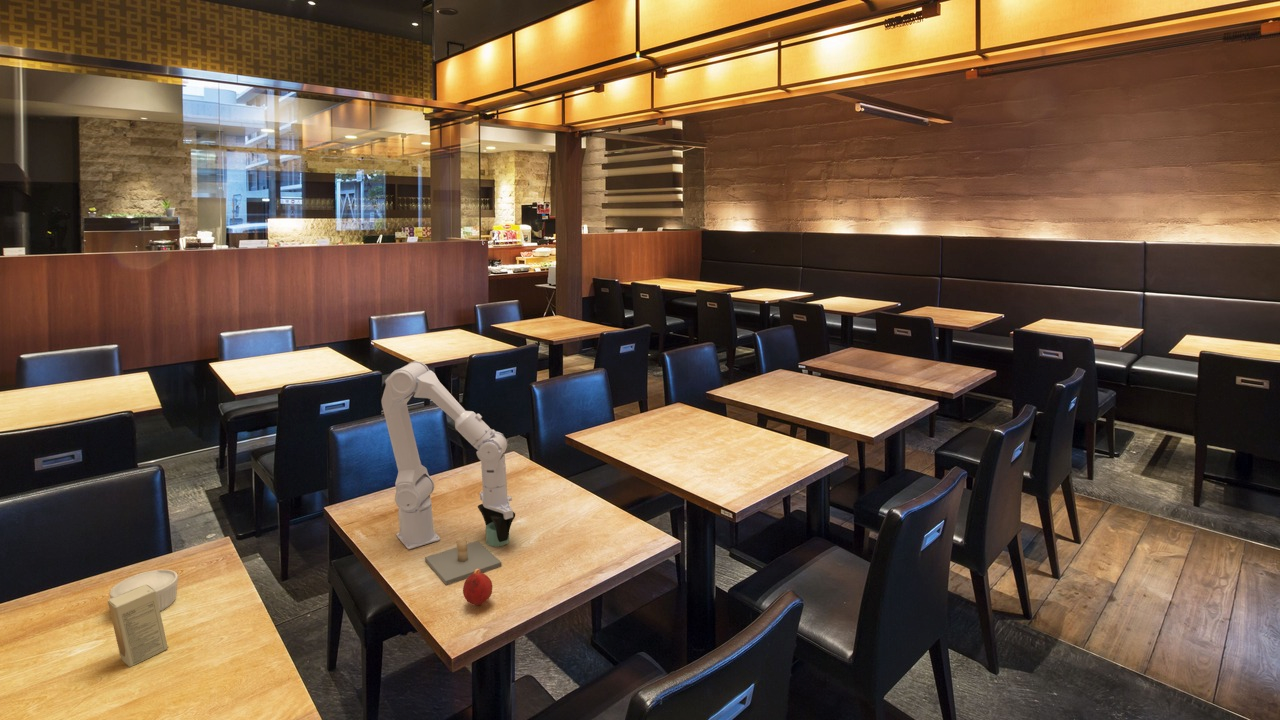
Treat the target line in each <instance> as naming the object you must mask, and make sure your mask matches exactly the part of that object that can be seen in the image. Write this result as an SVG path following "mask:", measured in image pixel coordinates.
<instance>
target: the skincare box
mask: <svg viewBox="0 0 1280 720" xmlns="http://www.w3.org/2000/svg"><path fill="white" fill-rule="evenodd" d="M107 605H108V608H109V613H110V617H111V621H112V626H113V630H114V635H115V639H116V643H117V648H118V652H119V656H120V659H121V661H122V662H123V663H124V664H125V665H126V666H127V667H128V668H131V667H133V666H135V665H137V664H140V663H141V662H143V661H146V660H148V659H150V658H152V657H154V656H156V655H158V654H160V653H162V652H164V651H166V650H168V649H169V646H168V643H167V638H166V633H165V628H164V624H163V619H162V615H161V611H160V609H159V605H158V600H157V595H156V591H155V590H154V589H153V588H151V587H150V586H148V585H147V584H145V585H143V586H140V587H138V588H135V589H133V590H130V591H128V592H125V593H123V594H121V595H118V596H116V597H113V598H109V599H107Z"/></svg>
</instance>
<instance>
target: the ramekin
mask: <svg viewBox="0 0 1280 720" xmlns="http://www.w3.org/2000/svg"><path fill="white" fill-rule="evenodd" d="M178 582H179V574H178V573H177V572H176V571H174V570H171V569H155V570H154V569H152V570H148V571H144V572H141V573H136V574H134V575H132V576H129V577H127V578H125V579H122V580H121V581H119V582H117V583H116V584H115V585H114V586H113V587H111V589H110V591H109V597H110V598H109V599H111V598H113V597H116V596H118V595H121V594H123V593H125V592H128V591H130V590H133V589H135V588H138V587H140V586H143V585H145V584H147V585H148V586H150V587H151V588H153V589H154V590H155V591H156V595H157V600H158V605H159V609H160V612H162V611H163V610H166V609H167V608H168V607H170V606H171V605H172V604H173V603H174V601H175V600H176V598H177V592H178Z"/></svg>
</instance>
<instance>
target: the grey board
mask: <svg viewBox="0 0 1280 720" xmlns="http://www.w3.org/2000/svg"><path fill="white" fill-rule="evenodd" d="M467 554H468V560H467V561H465V562H459V561H458V555H457V546H455V547H453V548H450V549H447V550H443V551H440V552H438V553H433V554H431V555H428V556H425V557H424V561H425V563H426V564H427V565H428V566H429V568H431V570H432V571H433V572H434V573H435V575H436V576H438V578H439V579H440V580H441V582H443V584H444V585H445V586H448V585H450V584H454V583H457V582H459V581H462V580H466V579H467V578H468V577H469V576H470V575H472V574H473V573H474V571H475V569H480V570H481V571H480V573H483V574H484V573H486V572H490V571H491V570H494V569H497V568H500V567H503V565H502V561H501V560H500V559H499V558H498V557H496V556H495V555H494V554H493V553H492V552H491V550H489V549H488V548H487V547H486V546H485V545H483V544H482V543H481V542H480V540H475V541H472V542H468V543H467Z"/></svg>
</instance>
